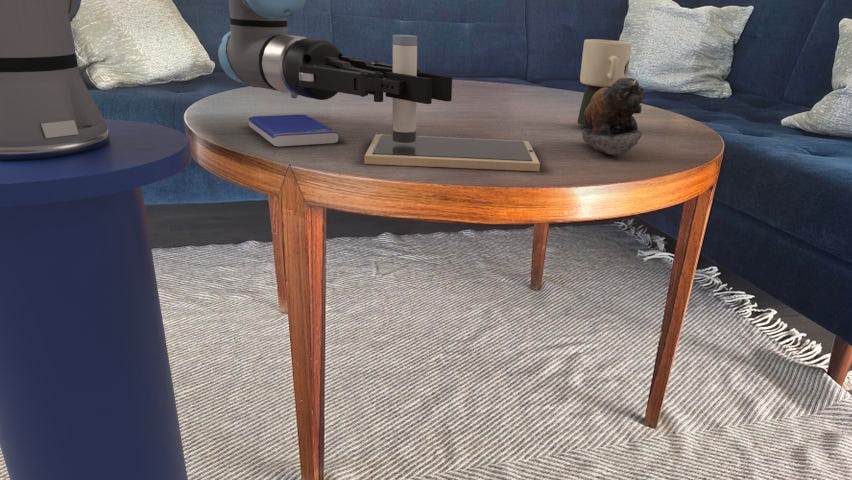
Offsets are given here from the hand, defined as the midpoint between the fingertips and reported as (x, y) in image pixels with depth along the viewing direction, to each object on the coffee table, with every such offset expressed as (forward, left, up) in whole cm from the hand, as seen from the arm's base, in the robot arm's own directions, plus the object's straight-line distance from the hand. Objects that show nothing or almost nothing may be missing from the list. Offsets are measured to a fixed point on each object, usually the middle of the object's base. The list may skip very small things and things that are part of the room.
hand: (439, 90), depth 72 cm
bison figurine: (+6, +24, -8) cm, 26 cm away
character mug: (-6, +36, -8) cm, 37 cm away
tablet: (-2, +4, -8) cm, 9 cm away
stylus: (-5, -1, -7) cm, 9 cm away
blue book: (-21, -8, -8) cm, 24 cm away
